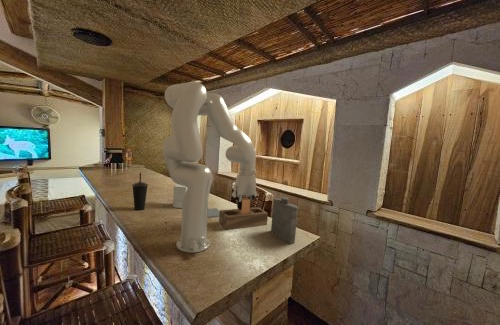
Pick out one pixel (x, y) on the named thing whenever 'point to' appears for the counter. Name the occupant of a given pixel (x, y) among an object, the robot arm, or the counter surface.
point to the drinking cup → (139, 195)
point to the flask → (284, 219)
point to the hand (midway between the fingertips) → (243, 208)
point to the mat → (213, 213)
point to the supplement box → (178, 195)
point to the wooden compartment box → (242, 218)
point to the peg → (245, 206)
